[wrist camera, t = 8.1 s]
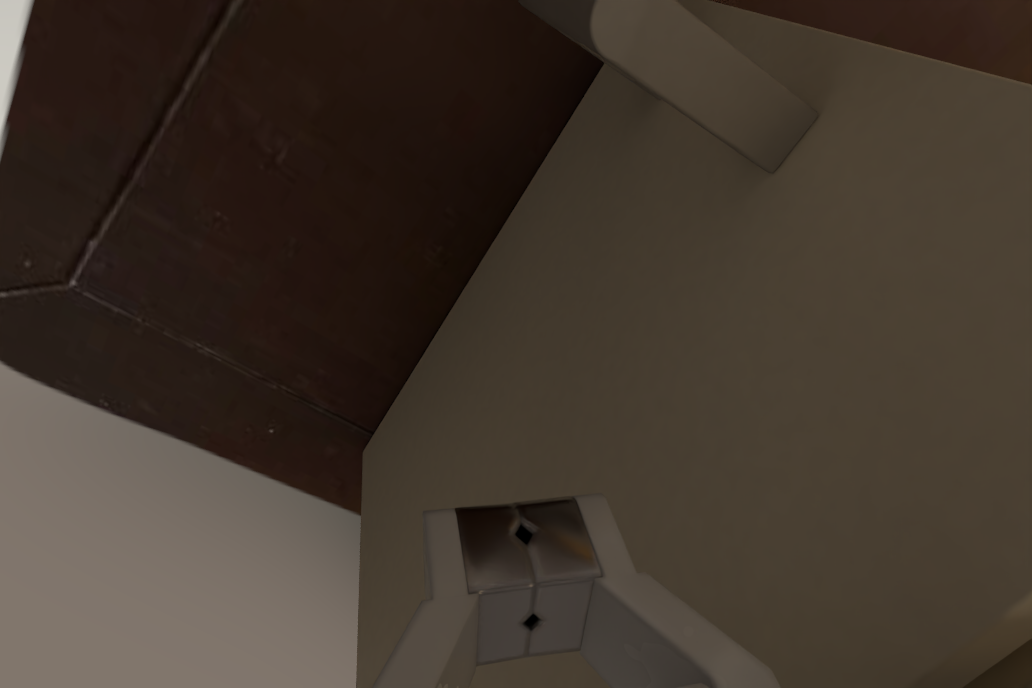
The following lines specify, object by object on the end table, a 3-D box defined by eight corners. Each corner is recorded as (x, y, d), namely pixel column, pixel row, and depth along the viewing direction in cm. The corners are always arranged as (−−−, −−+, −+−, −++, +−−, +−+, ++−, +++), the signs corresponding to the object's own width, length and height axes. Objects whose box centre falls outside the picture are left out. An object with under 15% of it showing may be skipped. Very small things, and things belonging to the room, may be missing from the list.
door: (255, 417, 33) (79, 1138, 14) (528, -113, 23) (1350, -259, 4) (379, 456, 36) (380, 1102, 16) (671, -1, 26) (1568, 262, 6)
